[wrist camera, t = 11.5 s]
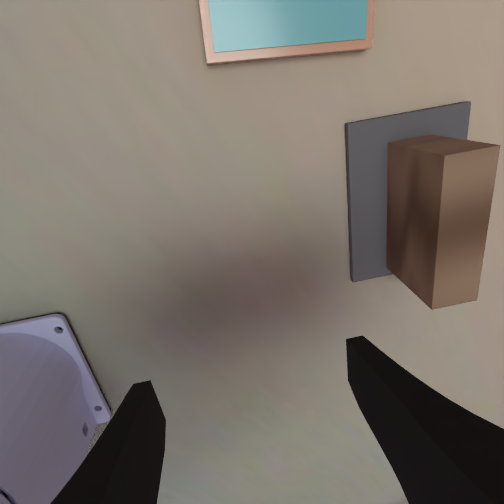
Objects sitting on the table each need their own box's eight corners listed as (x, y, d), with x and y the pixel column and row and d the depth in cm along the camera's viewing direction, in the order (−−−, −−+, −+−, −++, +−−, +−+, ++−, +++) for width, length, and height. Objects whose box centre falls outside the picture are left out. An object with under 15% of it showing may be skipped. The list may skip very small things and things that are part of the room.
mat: (449, 259, 23) (453, 261, 23) (350, 279, 23) (353, 282, 23) (465, 101, 19) (470, 101, 19) (344, 123, 19) (347, 124, 18)
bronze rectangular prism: (422, 259, 22) (477, 300, 18) (386, 267, 22) (431, 309, 18) (430, 134, 19) (500, 145, 15) (387, 142, 19) (444, 155, 14)
